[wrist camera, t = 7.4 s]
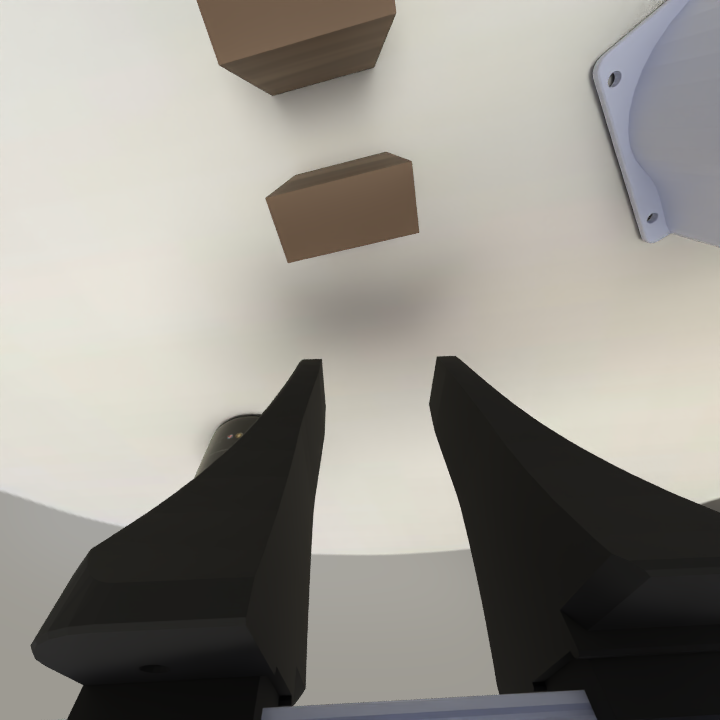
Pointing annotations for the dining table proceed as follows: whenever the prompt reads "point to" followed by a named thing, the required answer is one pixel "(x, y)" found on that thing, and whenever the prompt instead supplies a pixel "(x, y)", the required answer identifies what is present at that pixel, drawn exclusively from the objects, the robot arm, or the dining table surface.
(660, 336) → the dining table surface
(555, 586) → the robot arm
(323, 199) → the domino
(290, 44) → the domino
